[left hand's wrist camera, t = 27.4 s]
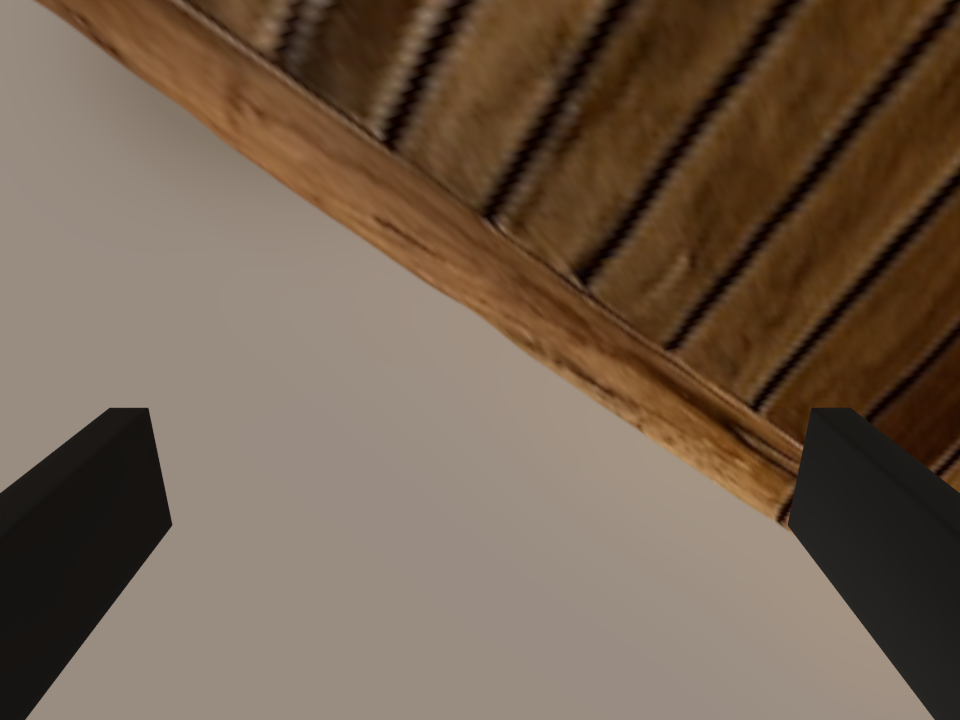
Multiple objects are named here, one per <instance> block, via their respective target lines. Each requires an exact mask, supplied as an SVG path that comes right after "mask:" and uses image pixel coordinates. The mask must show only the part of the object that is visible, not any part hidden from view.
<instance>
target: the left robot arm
mask: <svg viewBox="0 0 960 720" xmlns="http://www.w3.org/2000/svg"><path fill="white" fill-rule="evenodd" d="M171 526H172V521H171V516H170V511H169V506H168V502H167V497H166V492H165V487H164V482H163V477H162V472H161V468H160V462H159V458H158V453H157V448H156V443H155V438H154V433H153V428H152V423H151V419H150V414H149V409H148V408H109V409H108V410H106V411H105V412H104V413H103V414H101V415H100V416H99V417H97V418H96V419H95V420H93V421H92V422H91V423H90V424H88V425H87V426H86V427H85V428H83V429H82V430H81V431H79V432H78V433H77V434H76V435H74V436H73V437H72V438H70V439H69V440H68V441H67V442H65V443H64V444H63V445H61V446H60V447H59V448H58V449H56V450H55V451H54V452H52V453H51V454H50V455H49V456H47V457H46V458H45V459H44V460H42V461H41V462H40V463H38V464H37V465H36V466H35V467H33V468H32V469H31V470H29V471H28V472H27V473H26V474H24V475H23V476H22V477H20V478H19V479H18V480H17V481H15V482H14V483H13V484H12V485H10V486H9V487H8V488H6V489H5V490H4V491H3V492H1V493H0V720H25V719H26V718H27V717H28V715H29V714H30V713H31V711H32V710H33V709H34V707H35V706H36V705H37V703H38V702H39V701H40V700H41V698H42V697H43V695H44V694H45V693H46V692H47V690H48V689H49V688H50V686H51V685H52V684H53V682H54V681H55V680H56V678H57V677H58V676H59V674H60V673H61V672H62V670H63V669H64V668H65V666H66V665H67V664H68V662H69V661H70V660H71V659H72V657H73V656H74V655H75V653H76V652H77V651H78V649H79V648H80V647H81V645H82V644H83V643H84V641H85V640H86V639H87V637H88V636H89V635H90V633H91V632H92V631H93V629H94V628H95V627H96V625H97V624H98V623H99V622H100V620H101V619H102V618H103V616H104V615H105V614H106V612H107V611H108V610H109V608H110V607H111V606H112V604H113V603H114V602H115V600H116V599H117V598H118V596H119V595H120V594H121V592H122V591H123V590H124V588H125V587H126V586H127V585H128V583H129V582H130V580H131V579H132V578H133V577H134V575H135V574H136V573H137V571H138V570H139V569H140V567H141V566H142V565H143V563H144V562H145V561H146V559H147V558H148V557H149V555H150V554H151V553H152V551H153V550H154V549H155V547H156V546H157V545H158V544H159V542H160V541H161V539H162V538H163V537H164V536H165V534H166V533H167V532H168V530H169V529H170V528H171ZM788 526H789V528H790V529H791V530H792V532H793V533H794V534H795V536H796V537H797V538H798V540H799V541H800V542H801V544H802V545H803V546H804V547H805V549H806V550H807V551H808V553H809V554H810V555H811V557H812V558H813V559H814V561H815V562H816V563H817V565H818V566H819V567H820V569H821V570H822V571H823V573H824V574H825V575H826V577H827V578H828V579H829V581H830V582H831V583H832V584H833V586H834V587H835V588H836V590H837V591H838V592H839V594H840V595H841V596H842V598H843V599H844V600H845V602H846V603H847V604H848V606H849V607H850V608H851V610H852V611H853V612H854V614H855V615H856V616H857V618H858V619H859V620H860V622H861V623H862V624H863V625H864V627H865V628H866V629H867V631H868V632H869V633H870V635H871V636H872V637H873V639H874V640H875V641H876V643H877V644H878V645H879V647H880V648H881V649H882V651H883V652H884V653H885V655H886V656H887V657H888V659H889V660H890V661H891V662H892V664H893V665H894V666H895V668H896V669H897V670H898V672H899V673H900V674H901V676H902V677H903V678H904V680H905V681H906V682H907V684H908V685H909V686H910V688H911V689H912V690H913V692H914V693H915V694H916V696H917V697H918V698H919V699H920V701H921V702H922V703H923V705H924V706H925V707H926V709H927V710H928V711H929V713H930V714H931V715H932V717H933V718H934V719H935V720H960V493H959V492H957V491H956V490H955V489H954V488H952V487H951V486H950V485H948V484H947V483H946V482H945V481H943V480H942V479H941V478H940V477H938V476H937V475H936V474H934V473H933V472H932V471H931V470H929V469H928V468H927V467H925V466H924V465H923V464H922V463H920V462H919V461H918V460H916V459H915V458H914V457H913V456H911V455H910V454H909V453H908V452H906V451H905V450H904V449H902V448H901V447H900V446H899V445H897V444H896V443H895V442H893V441H892V440H891V439H890V438H888V437H887V436H886V435H884V434H883V433H882V432H881V431H879V430H878V429H877V428H876V427H874V426H873V425H872V424H870V423H869V422H868V421H867V420H865V419H864V418H863V417H861V416H860V415H859V414H858V413H856V412H855V411H854V410H852V409H851V408H812V409H811V414H810V419H809V423H808V428H807V433H806V438H805V443H804V448H803V453H802V458H801V462H800V467H799V472H798V477H797V482H796V487H795V492H794V497H793V501H792V506H791V511H790V516H789V521H788Z"/></svg>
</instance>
